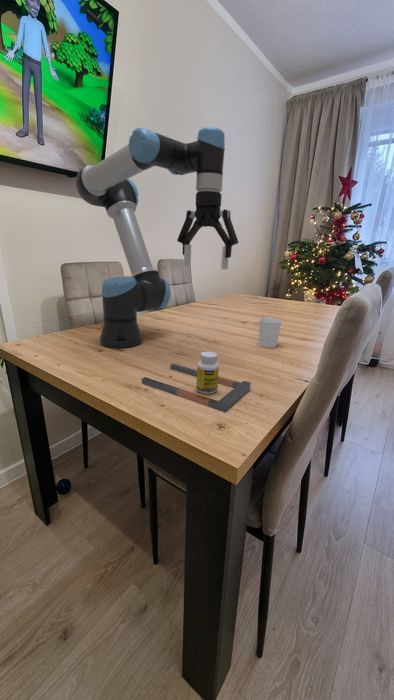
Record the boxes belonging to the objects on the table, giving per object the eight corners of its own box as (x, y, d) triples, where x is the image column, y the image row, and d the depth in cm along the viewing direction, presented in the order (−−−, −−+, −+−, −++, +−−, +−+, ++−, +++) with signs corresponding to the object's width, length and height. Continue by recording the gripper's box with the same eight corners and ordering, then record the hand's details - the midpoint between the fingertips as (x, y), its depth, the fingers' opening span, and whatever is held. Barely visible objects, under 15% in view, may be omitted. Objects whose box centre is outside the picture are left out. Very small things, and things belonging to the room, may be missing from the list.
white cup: (276, 343, 120) (279, 318, 117) (279, 349, 113) (282, 323, 110) (256, 341, 121) (258, 317, 118) (257, 348, 113) (260, 321, 110)
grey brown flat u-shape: (141, 382, 81) (141, 376, 80) (173, 367, 92) (173, 361, 91) (225, 411, 68) (225, 403, 68) (250, 389, 80) (250, 382, 79)
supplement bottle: (202, 396, 75) (204, 359, 72) (192, 387, 80) (194, 351, 76) (221, 392, 78) (223, 356, 74) (210, 383, 82) (212, 349, 79)
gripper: (253, 192, 86) (246, 270, 93) (181, 196, 98) (179, 264, 105) (242, 187, 80) (236, 271, 87) (167, 192, 92) (166, 265, 99)
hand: (205, 267), depth 96 cm, fingers open, 13 cm apart
